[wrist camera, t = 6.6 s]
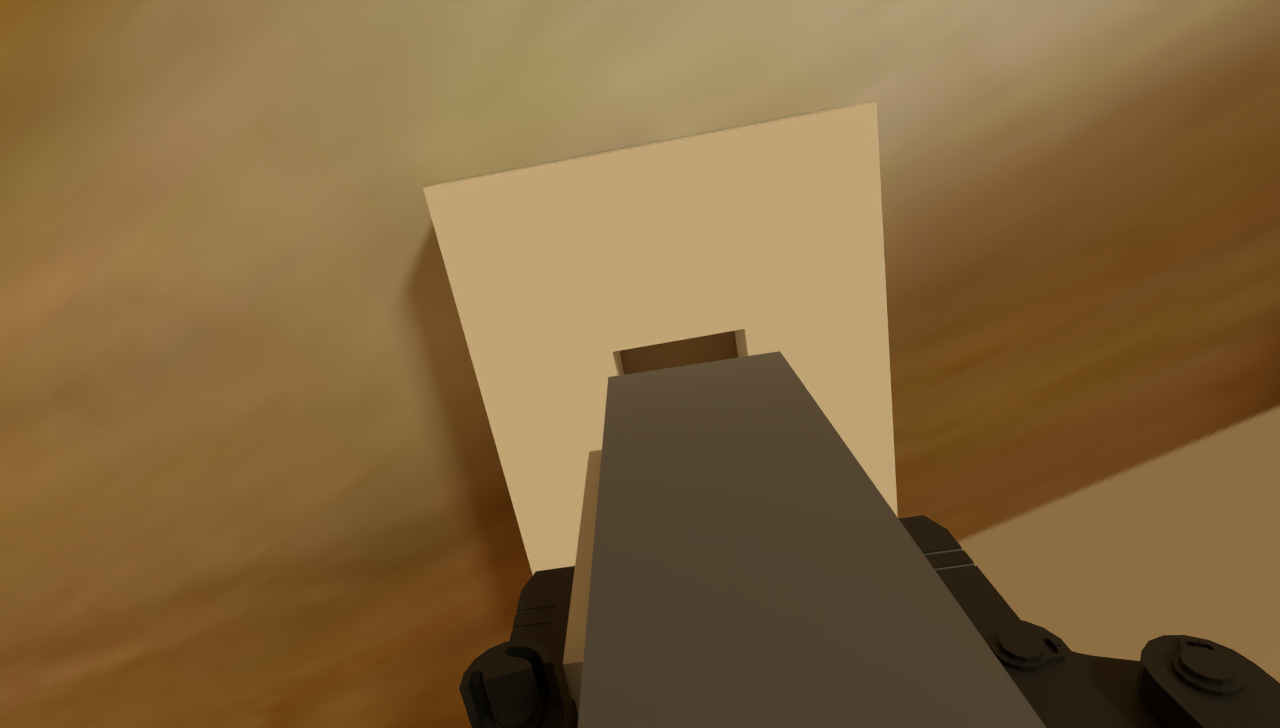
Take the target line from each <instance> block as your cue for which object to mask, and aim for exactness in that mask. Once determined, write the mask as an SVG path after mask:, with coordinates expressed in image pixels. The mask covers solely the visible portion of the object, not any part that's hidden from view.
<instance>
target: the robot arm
mask: <svg viewBox="0 0 1280 728" xmlns="http://www.w3.org/2000/svg"><path fill="white" fill-rule="evenodd" d="M601 454H602V450H596V451H589V457H588V465H587V473H586V481H585V489H584V497H583V505H582V514H581V522H580V530H579V538H578V546H577V554H576V562H575V566H570V567H563V568H556V569H549V570H542V571H536V572H535V573H534V575H533V576H532V577H531V578H530V580H529V581H528V582H527V584H526V585H525V586H524V588H523V589H522V590H521V595H520V599H519V603H518V607H517V614H516V616H515V620H514V624H513V631H512V633H511V637H510V641H509V642H504V643H502V644H500V645H497V646H495V647H492V648H490V649H488V650H487V651H485V652H484V653H483V654H482V655H480V656H479V657H478V658H476V659H475V660H474V661H473V662H472V663H471V665H470V666H469V667H468V669H467V670H466V671H465V673H464V674H463V678H462V681H461V684H460V688H459V689H460V692H461V695H462V698H463V701H464V704H465V708H466V711H467V714H468V717H469V720H470V723H471V726H472V728H578V717H579V705H580V694H581V682H582V671H583V659H584V648H585V637H586V625H587V614H588V602H589V591H590V580H591V568H592V557H593V545H594V534H595V522H596V511H597V500H598V488H599V477H600V465H601ZM899 520H900V522H901V523H902V524H903V526H904V527H905V529H906V530H907V531H908V533H909V534H910V536H911V537H912V539H913V540H914V541H915V543H916V544H917V546H918V547H919V548H920V550H921V551H922V553H923V554H924V555H925V557H926V558H927V560H928V561H929V563H930V564H931V565H932V567H933V568H934V570H935V571H936V572H937V574H938V575H939V577H940V578H941V580H942V581H943V582H944V584H945V585H946V587H947V588H948V589H949V591H950V592H951V594H952V595H953V596H954V598H955V599H956V601H957V602H958V604H959V605H960V606H961V608H962V609H963V611H964V612H965V613H966V615H967V616H968V618H969V619H970V621H971V622H972V623H973V625H974V626H975V628H976V629H977V630H978V632H979V633H980V635H981V636H982V637H983V639H984V640H985V642H986V643H987V645H988V646H989V647H990V649H991V650H992V652H993V653H994V654H995V656H996V657H997V659H998V660H999V662H1000V663H1001V664H1002V666H1003V667H1004V669H1005V670H1006V671H1007V673H1008V674H1009V676H1010V677H1011V678H1012V680H1013V681H1014V683H1015V684H1016V686H1017V687H1018V688H1019V690H1020V691H1021V693H1022V694H1023V695H1024V697H1025V698H1026V700H1027V701H1028V703H1029V704H1030V705H1031V707H1032V708H1033V710H1034V711H1035V712H1036V714H1037V715H1038V717H1039V718H1040V719H1041V721H1042V722H1043V724H1044V725H1045V727H1046V728H1280V683H1279V682H1277V681H1276V680H1275V679H1274V678H1272V677H1271V676H1270V675H1269V674H1267V673H1266V672H1265V671H1264V670H1262V669H1261V668H1260V667H1259V666H1257V665H1256V664H1255V663H1253V662H1252V661H1250V660H1248V659H1247V658H1245V657H1244V656H1242V655H1240V654H1239V653H1237V652H1236V651H1234V650H1232V649H1229V648H1227V647H1225V646H1222V645H1220V644H1217V643H1215V642H1212V641H1209V640H1206V639H1200V638H1196V637H1191V636H1186V635H1167V636H1166V635H1164V636H1161V637H1158V638H1155V639H1153V640H1150V641H1148V643H1147V644H1146V646H1145V647H1144V649H1143V650H1142V653H1141V659H1140V661H1133V660H1124V659H1115V658H1107V657H1098V656H1091V655H1085V654H1081V653H1076V652H1073V651H1071V650H1070V649H1069V648H1068V647H1067V645H1066V644H1065V643H1064V642H1063V641H1062V640H1061V639H1060V638H1059V637H1057V636H1056V635H1054V634H1052V633H1051V632H1049V631H1048V630H1046V629H1045V628H1043V627H1040V626H1037V625H1034V624H1032V623H1029V622H1026V621H1022V620H1020V619H1019V617H1018V616H1017V615H1016V614H1015V612H1014V611H1013V610H1012V609H1011V608H1010V606H1009V605H1008V604H1007V603H1006V601H1005V600H1004V599H1003V598H1002V597H1001V595H1000V594H999V593H998V592H997V590H996V589H995V588H994V587H993V585H992V584H991V583H990V582H989V580H988V579H987V578H986V577H985V576H984V574H983V573H982V572H981V571H980V569H979V568H978V567H977V566H974V562H973V561H972V560H971V558H970V557H969V556H968V555H967V553H966V552H965V551H962V549H961V546H960V545H959V544H958V542H957V541H956V540H955V539H954V537H953V536H952V535H951V534H950V532H949V531H948V530H947V529H946V528H944V527H942V526H941V525H939V524H937V523H936V522H934V521H932V520H931V519H929V518H927V517H926V516H924V515H922V516H915V517H908V518H901V519H899Z"/></svg>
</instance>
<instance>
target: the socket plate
mask: <svg viewBox="0 0 1280 728" xmlns="http://www.w3.org/2000/svg"><path fill="white" fill-rule="evenodd" d="M423 190H424V193H425V197H426V200H427V204H428V207H429V211H430V214H431V218H432V222H433V225H434V229H435V232H436V236H437V239H438V243H439V246H440V250H441V253H442V257H443V260H444V264H445V267H446V271H447V274H448V278H449V282H450V285H451V289H452V292H453V296H454V299H455V303H456V306H457V310H458V313H459V317H460V320H461V324H462V327H463V331H464V334H465V338H466V342H467V345H468V349H469V352H470V356H471V359H472V363H473V366H474V370H475V373H476V377H477V380H478V384H479V387H480V391H481V394H482V398H483V402H484V405H485V409H486V412H487V416H488V419H489V423H490V426H491V430H492V433H493V437H494V440H495V444H496V447H497V451H498V454H499V458H500V462H501V465H502V469H503V472H504V476H505V479H506V483H507V486H508V490H509V493H510V497H511V500H512V504H513V507H514V511H515V514H516V518H517V522H518V525H519V529H520V532H521V536H522V539H523V543H524V546H525V550H526V553H527V557H528V560H529V564H530V567H531V571H532V574H533V575H534V573H535V572H536V571H542V570H549V569H556V568H563V567H570V566H575V562H576V554H577V546H578V538H579V530H580V522H581V514H582V505H583V497H584V489H585V481H586V473H587V465H588V457H589V451H596V450H602V442H603V431H604V420H605V408H606V397H607V385H608V377H612V376H619V375H624V370H623V365H622V360H621V355H620V350H626V349H632V348H638V347H643V346H649V345H655V344H661V343H666V342H672V341H678V340H683V339H689V338H695V337H701V336H706V335H712V334H718V333H724V332H729V331H735V338H736V346H737V353H738V357H745V356H751V355H758V354H765V353H771V352H778V351H780V352H781V353H782V355H783V356H784V358H785V359H786V360H787V362H788V363H789V365H790V366H791V367H792V369H793V370H794V372H795V373H796V375H797V376H798V377H799V379H800V380H801V382H802V383H803V384H804V386H805V387H806V389H807V390H808V392H809V393H810V394H811V396H812V397H813V399H814V400H815V401H816V403H817V404H818V406H819V407H820V408H821V410H822V411H823V413H824V414H825V416H826V417H827V418H828V420H829V421H830V423H831V424H832V425H833V427H834V428H835V430H836V431H837V433H838V434H839V435H840V437H841V438H842V440H843V441H844V442H845V444H846V445H847V447H848V448H849V449H850V451H851V452H852V454H853V455H854V457H855V458H856V459H857V461H858V462H859V464H860V465H861V466H862V468H863V469H864V471H865V472H866V473H867V475H868V476H869V478H870V479H871V481H872V482H873V483H874V485H875V486H876V488H877V489H878V490H879V492H880V493H881V495H882V496H883V498H884V499H885V500H886V502H887V503H888V505H889V506H890V507H891V509H892V510H893V512H894V513H895V514H896V516H897V496H896V477H895V457H894V438H893V418H892V398H891V379H890V359H889V340H888V320H887V301H886V281H885V262H884V242H883V222H882V203H881V183H880V164H879V144H878V125H877V105H876V102H874V103H867V104H860V105H853V106H846V107H840V108H835V109H830V110H825V111H819V112H814V113H809V114H803V115H798V116H793V117H788V118H782V119H777V120H772V121H767V122H761V123H756V124H751V125H745V126H740V127H735V128H730V129H724V130H719V131H714V132H709V133H703V134H698V135H693V136H687V137H682V138H677V139H672V140H666V141H661V142H656V143H650V144H645V145H640V146H635V147H629V148H624V149H619V150H614V151H608V152H603V153H598V154H592V155H587V156H582V157H577V158H571V159H566V160H561V161H555V162H550V163H545V164H540V165H534V166H529V167H524V168H519V169H513V170H508V171H503V172H497V173H492V174H487V175H482V176H476V177H471V178H466V179H461V180H455V181H450V182H446V183H442V184H438V185H434V186H429V187H425V188H423ZM897 517H898V516H897Z"/></svg>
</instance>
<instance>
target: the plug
mask: <svg viewBox="0 0 1280 728" xmlns="http://www.w3.org/2000/svg"><path fill="white" fill-rule="evenodd" d="M578 728H1046V727H1045V725H1044V724H1043V722H1042V721H1041V719H1040V718H1039V717H1038V715H1037V714H1036V712H1035V711H1034V710H1033V708H1032V707H1031V705H1030V704H1029V703H1028V701H1027V700H1026V698H1025V697H1024V695H1023V694H1022V693H1021V691H1020V690H1019V688H1018V687H1017V686H1016V684H1015V683H1014V681H1013V680H1012V678H1011V677H1010V676H1009V674H1008V673H1007V671H1006V670H1005V669H1004V667H1003V666H1002V664H1001V663H1000V662H999V660H998V659H997V657H996V656H995V654H994V653H993V652H992V650H991V649H990V647H989V646H988V645H987V643H986V642H985V640H984V639H983V637H982V636H981V635H980V633H979V632H978V630H977V629H976V628H975V626H974V625H973V623H972V622H971V621H970V619H969V618H968V616H967V615H966V613H965V612H964V611H963V609H962V608H961V606H960V605H959V604H958V602H957V601H956V599H955V598H954V596H953V595H952V594H951V592H950V591H949V589H948V588H947V587H946V585H945V584H944V582H943V581H942V580H941V578H940V577H939V575H938V574H937V572H936V571H935V570H934V568H933V567H932V565H931V564H930V563H929V561H928V560H927V558H926V557H925V555H924V554H923V553H922V551H921V550H920V548H919V547H918V546H917V544H916V543H915V541H914V540H913V539H912V537H911V536H910V534H909V533H908V531H907V530H906V529H905V527H904V526H903V524H902V523H901V522H900V520H899V519H898V517H897V516H896V514H895V513H894V512H893V510H892V509H891V507H890V506H889V505H888V503H887V502H886V500H885V499H884V498H883V496H882V495H881V493H880V492H879V490H878V489H877V488H876V486H875V485H874V483H873V482H872V481H871V479H870V478H869V476H868V475H867V473H866V472H865V471H864V469H863V468H862V466H861V465H860V464H859V462H858V461H857V459H856V458H855V457H854V455H853V454H852V452H851V451H850V449H849V448H848V447H847V445H846V444H845V442H844V441H843V440H842V438H841V437H840V435H839V434H838V433H837V431H836V430H835V428H834V427H833V425H832V424H831V423H830V421H829V420H828V418H827V417H826V416H825V414H824V413H823V411H822V410H821V408H820V407H819V406H818V404H817V403H816V401H815V400H814V399H813V397H812V396H811V394H810V393H809V392H808V390H807V389H806V387H805V386H804V384H803V383H802V382H801V380H800V379H799V377H798V376H797V375H796V373H795V372H794V370H793V369H792V367H791V366H790V365H789V363H788V362H787V360H786V359H785V358H784V356H783V355H782V353H781V352H780V351H778V352H771V353H765V354H758V355H751V356H745V357H738V358H731V359H725V360H718V361H712V362H705V363H698V364H692V365H685V366H678V367H672V368H665V369H658V370H652V371H645V372H639V373H632V374H625V375H619V376H612V377H608V385H607V397H606V408H605V420H604V431H603V442H602V454H601V465H600V477H599V488H598V500H597V511H596V522H595V534H594V545H593V557H592V568H591V580H590V591H589V602H588V614H587V625H586V637H585V648H584V659H583V671H582V682H581V694H580V705H579V717H578Z"/></svg>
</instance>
